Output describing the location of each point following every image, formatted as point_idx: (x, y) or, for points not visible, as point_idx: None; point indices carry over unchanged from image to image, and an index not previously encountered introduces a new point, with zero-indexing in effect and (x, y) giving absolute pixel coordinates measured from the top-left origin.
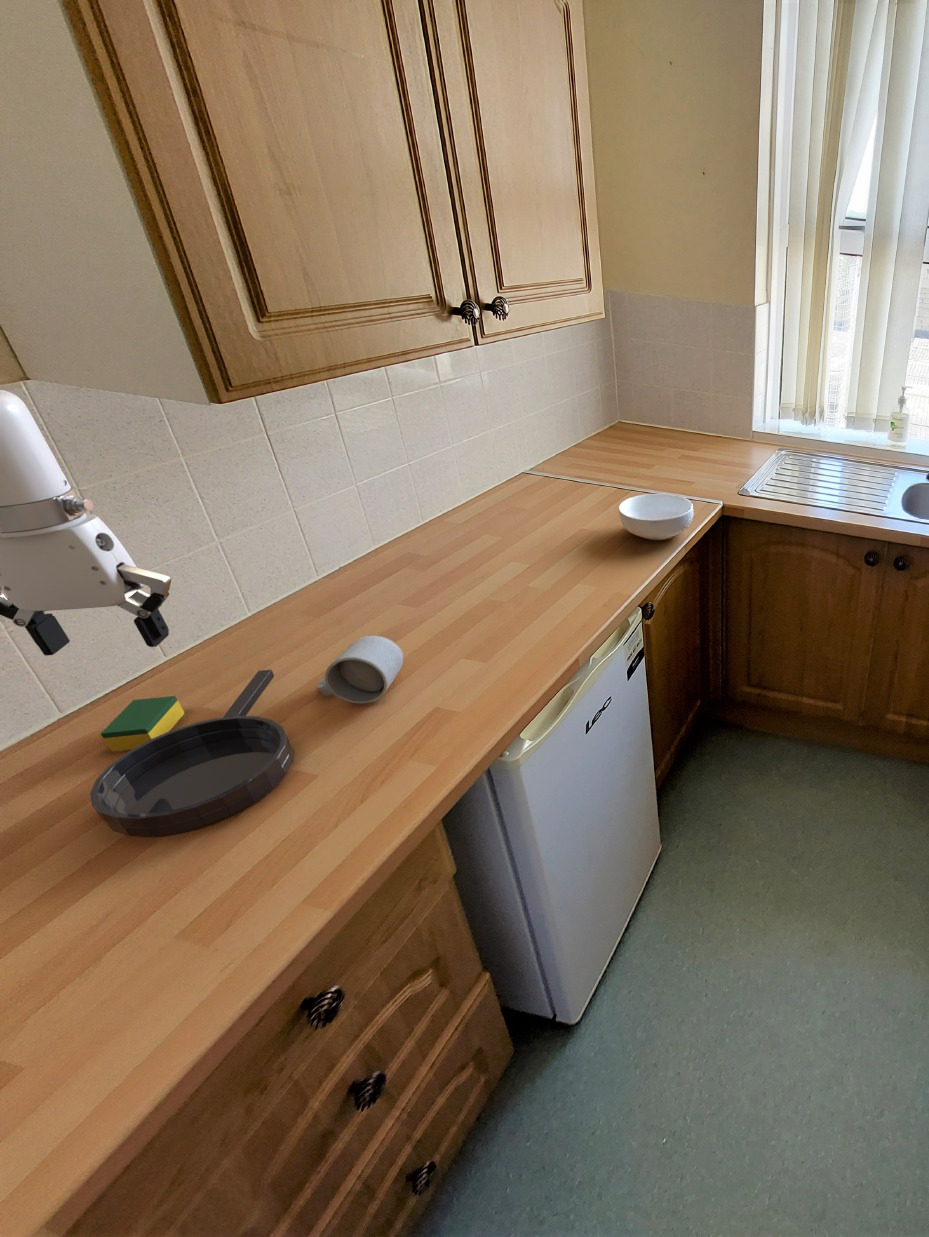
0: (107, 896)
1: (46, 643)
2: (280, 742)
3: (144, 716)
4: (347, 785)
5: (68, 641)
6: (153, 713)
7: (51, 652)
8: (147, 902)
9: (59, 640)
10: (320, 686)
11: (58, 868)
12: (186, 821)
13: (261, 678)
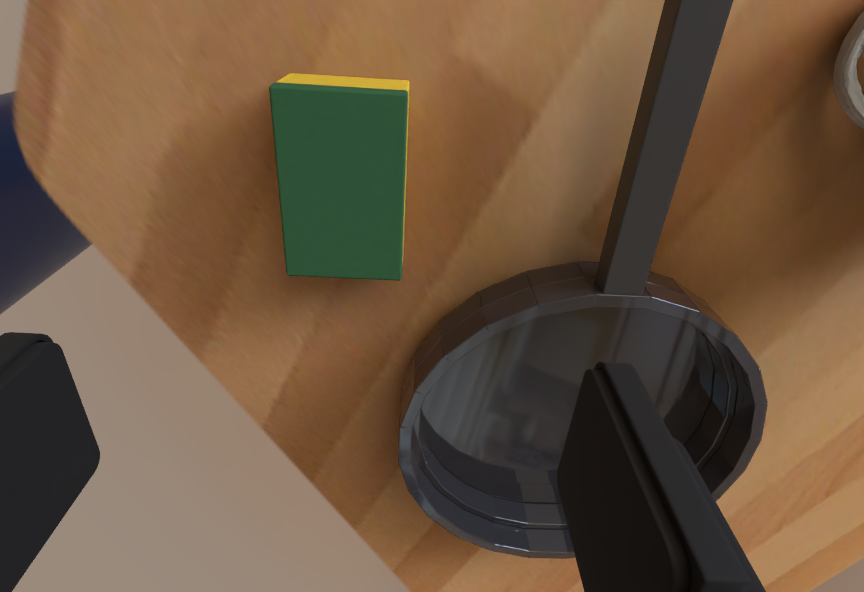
0: (493, 569)
1: (52, 529)
2: (752, 426)
3: (365, 211)
4: (812, 456)
5: (54, 350)
6: (386, 203)
7: (90, 470)
8: (546, 584)
9: (45, 428)
10: (861, 91)
11: (401, 521)
12: None
13: (702, 54)
